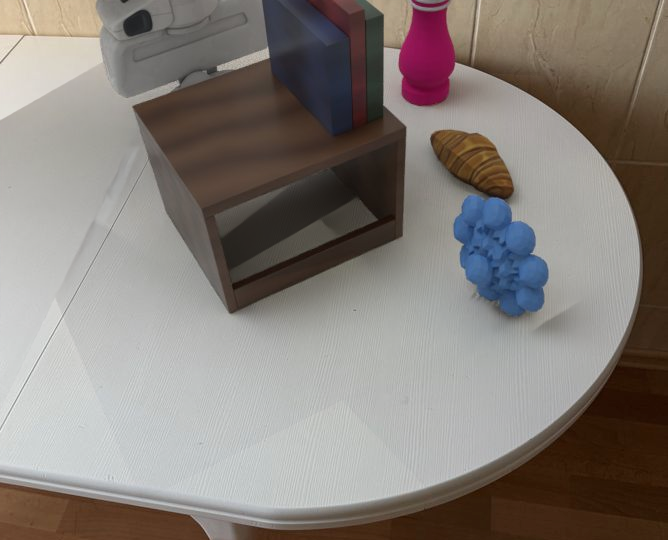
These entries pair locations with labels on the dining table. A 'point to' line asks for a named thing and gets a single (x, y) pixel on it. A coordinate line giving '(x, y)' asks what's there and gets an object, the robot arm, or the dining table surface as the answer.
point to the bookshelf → (283, 139)
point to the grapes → (500, 255)
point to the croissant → (473, 161)
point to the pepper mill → (427, 54)
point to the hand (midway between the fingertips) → (202, 101)
